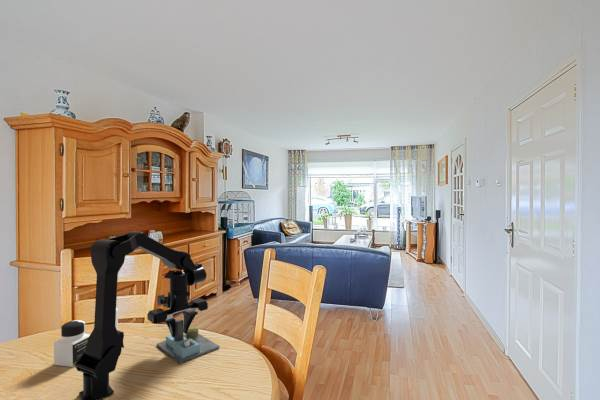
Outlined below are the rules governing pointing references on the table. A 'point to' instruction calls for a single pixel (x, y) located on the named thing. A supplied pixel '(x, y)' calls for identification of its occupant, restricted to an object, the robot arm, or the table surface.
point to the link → (181, 342)
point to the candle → (116, 319)
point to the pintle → (187, 343)
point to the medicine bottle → (70, 343)
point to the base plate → (192, 334)
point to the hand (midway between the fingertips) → (179, 335)
